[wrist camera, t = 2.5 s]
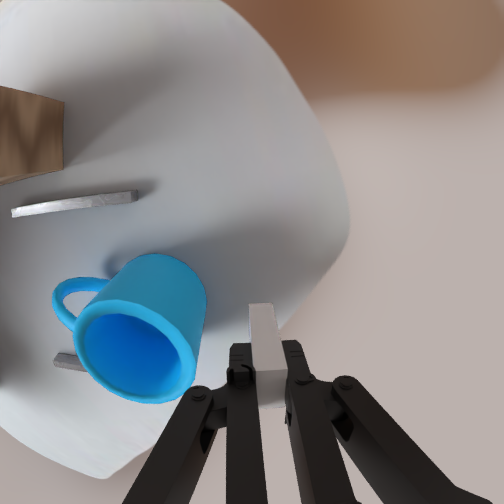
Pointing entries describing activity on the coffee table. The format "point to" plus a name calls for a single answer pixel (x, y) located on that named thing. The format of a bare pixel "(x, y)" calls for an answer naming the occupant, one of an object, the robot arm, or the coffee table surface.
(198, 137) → the coffee table surface
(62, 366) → the pair of gray bars
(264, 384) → the robot arm
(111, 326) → the mug
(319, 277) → the coffee table surface
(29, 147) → the end cabinet
